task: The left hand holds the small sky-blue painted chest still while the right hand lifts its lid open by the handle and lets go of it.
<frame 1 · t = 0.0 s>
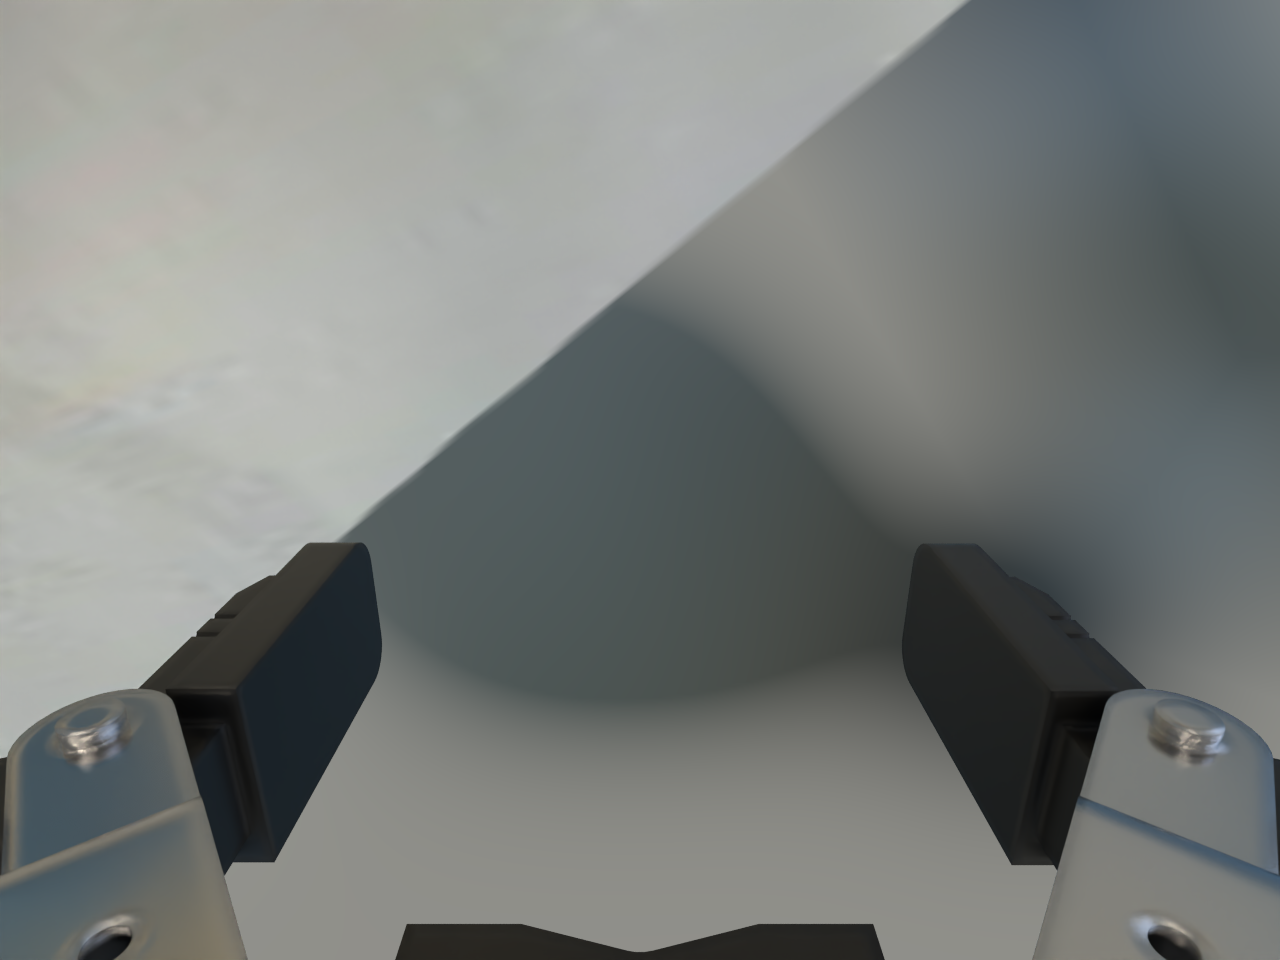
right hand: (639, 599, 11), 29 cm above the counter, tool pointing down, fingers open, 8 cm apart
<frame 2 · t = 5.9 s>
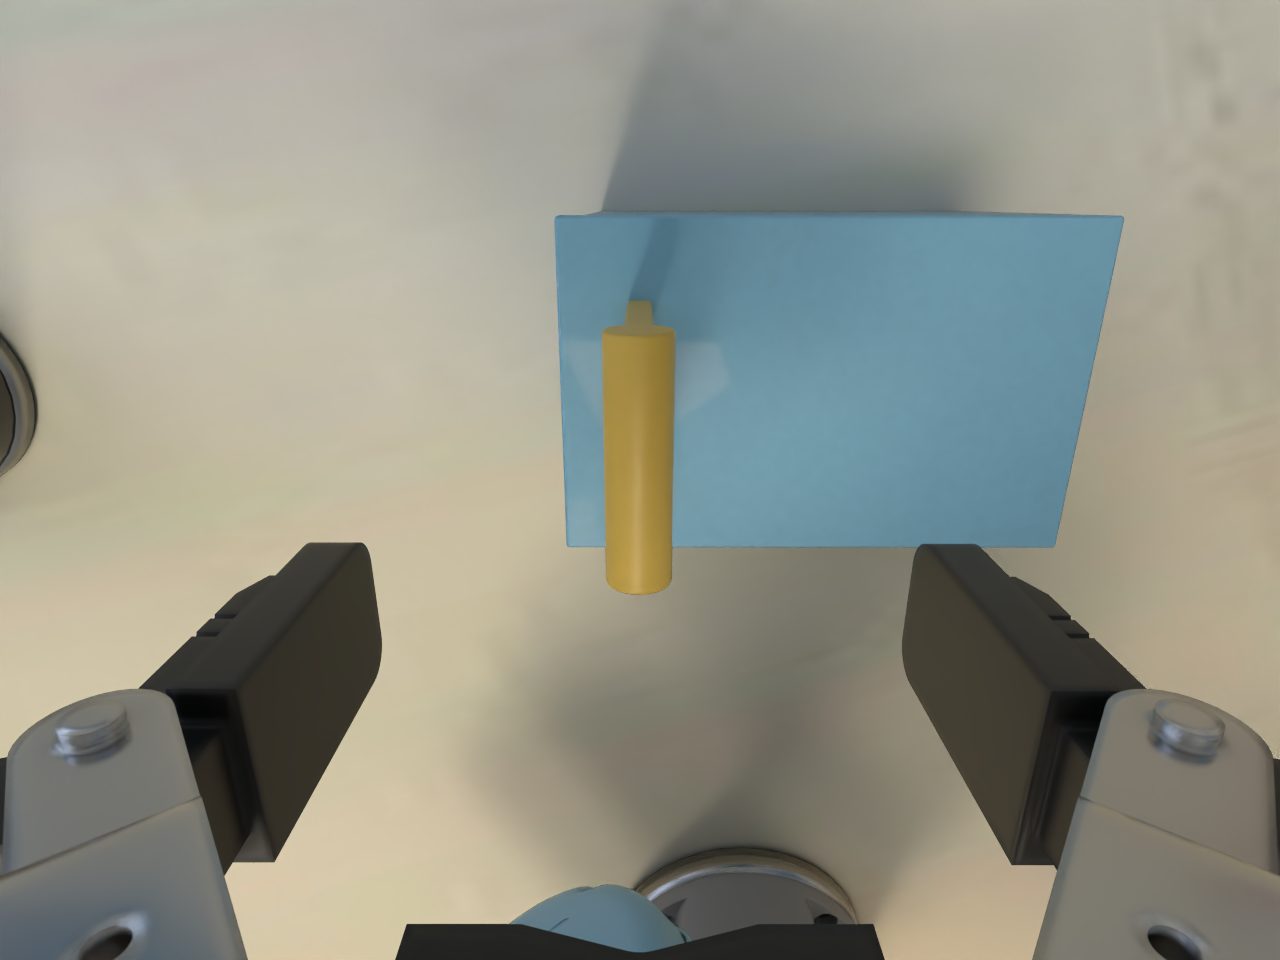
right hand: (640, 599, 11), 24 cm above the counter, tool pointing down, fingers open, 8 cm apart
chest: (772, 332, 34), on the counter
lid: (850, 422, 20), point 15 cm above the counter, hinge at 0.0°
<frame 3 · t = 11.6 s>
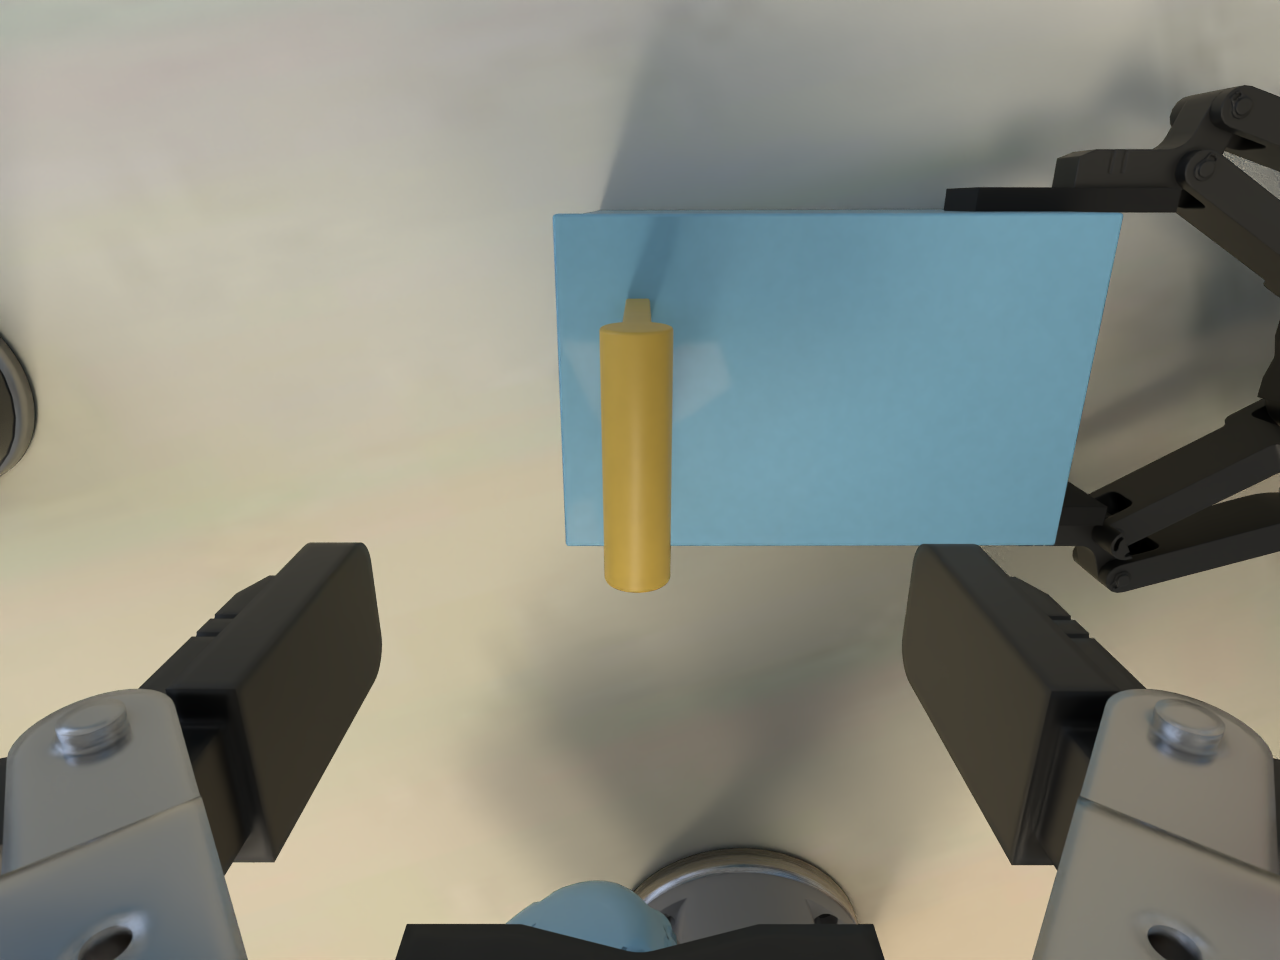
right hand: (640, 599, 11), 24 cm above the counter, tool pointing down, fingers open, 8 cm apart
chest: (771, 331, 34), on the counter, touching left hand
lid: (849, 420, 20), point 15 cm above the counter, hinge at 0.0°
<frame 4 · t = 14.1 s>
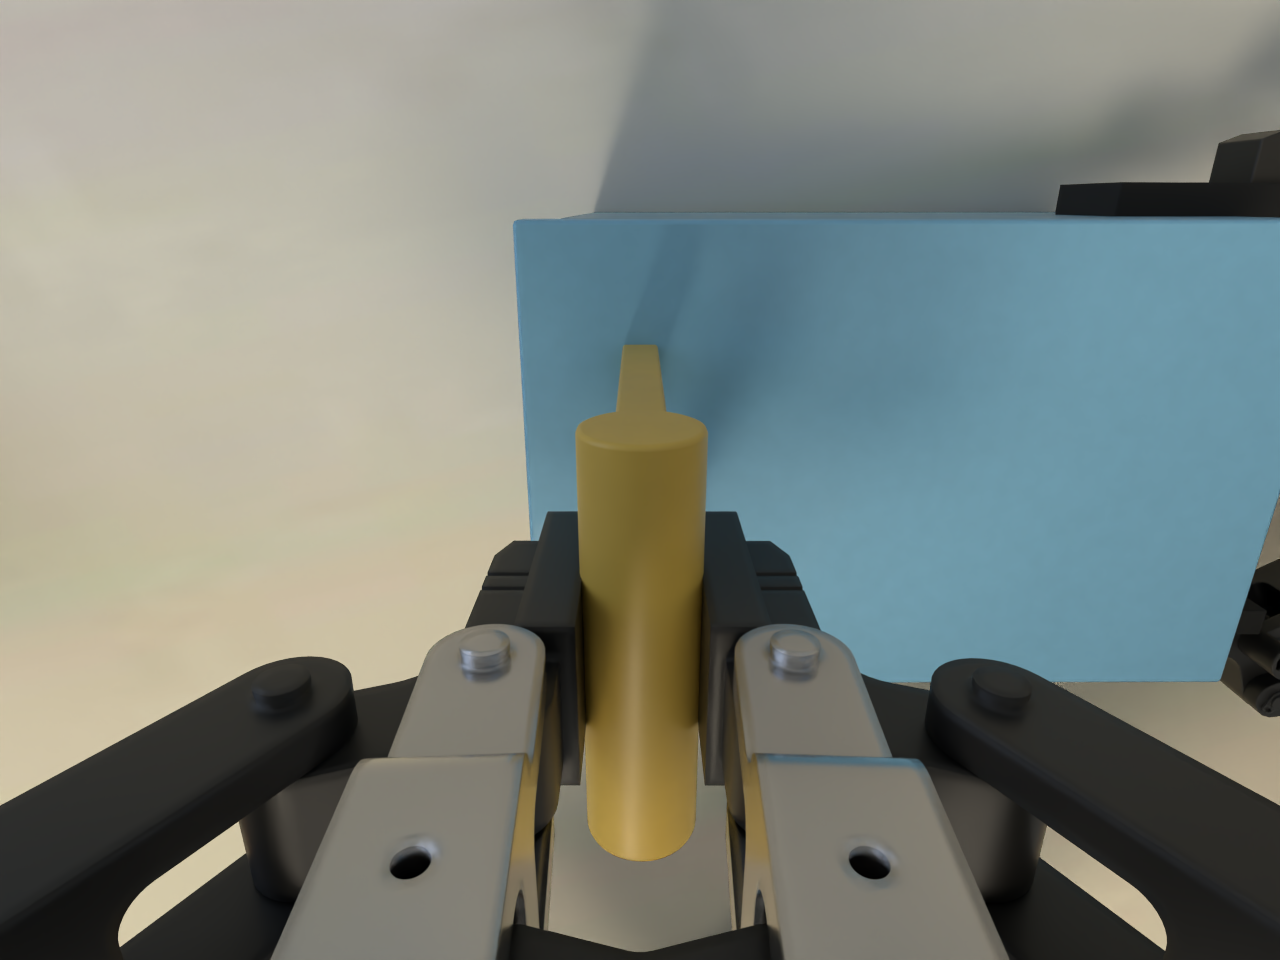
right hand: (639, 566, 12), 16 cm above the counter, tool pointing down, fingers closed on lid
chest: (809, 364, 27), on the counter, touching left hand
lid: (965, 538, 13), point 15 cm above the counter, hinge at 0.8°, touching right hand
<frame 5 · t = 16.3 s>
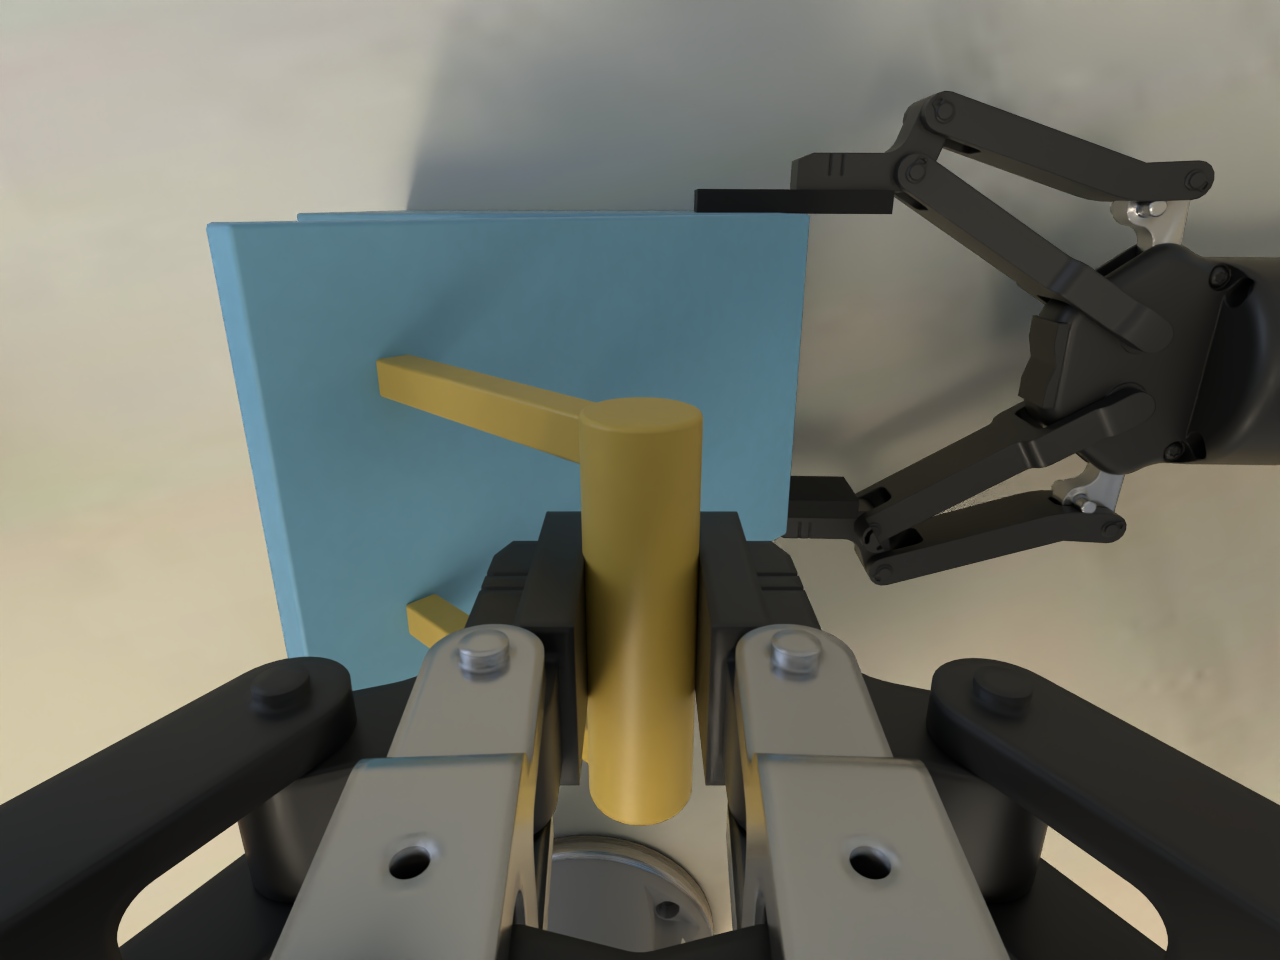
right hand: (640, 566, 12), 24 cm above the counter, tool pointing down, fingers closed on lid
left hand: (691, 358, 28), fingers closed on chest, 10 cm apart
chest: (581, 328, 35), on the counter, touching left hand
lid: (712, 468, 16), point 20 cm above the counter, hinge at 47.4°, touching right hand
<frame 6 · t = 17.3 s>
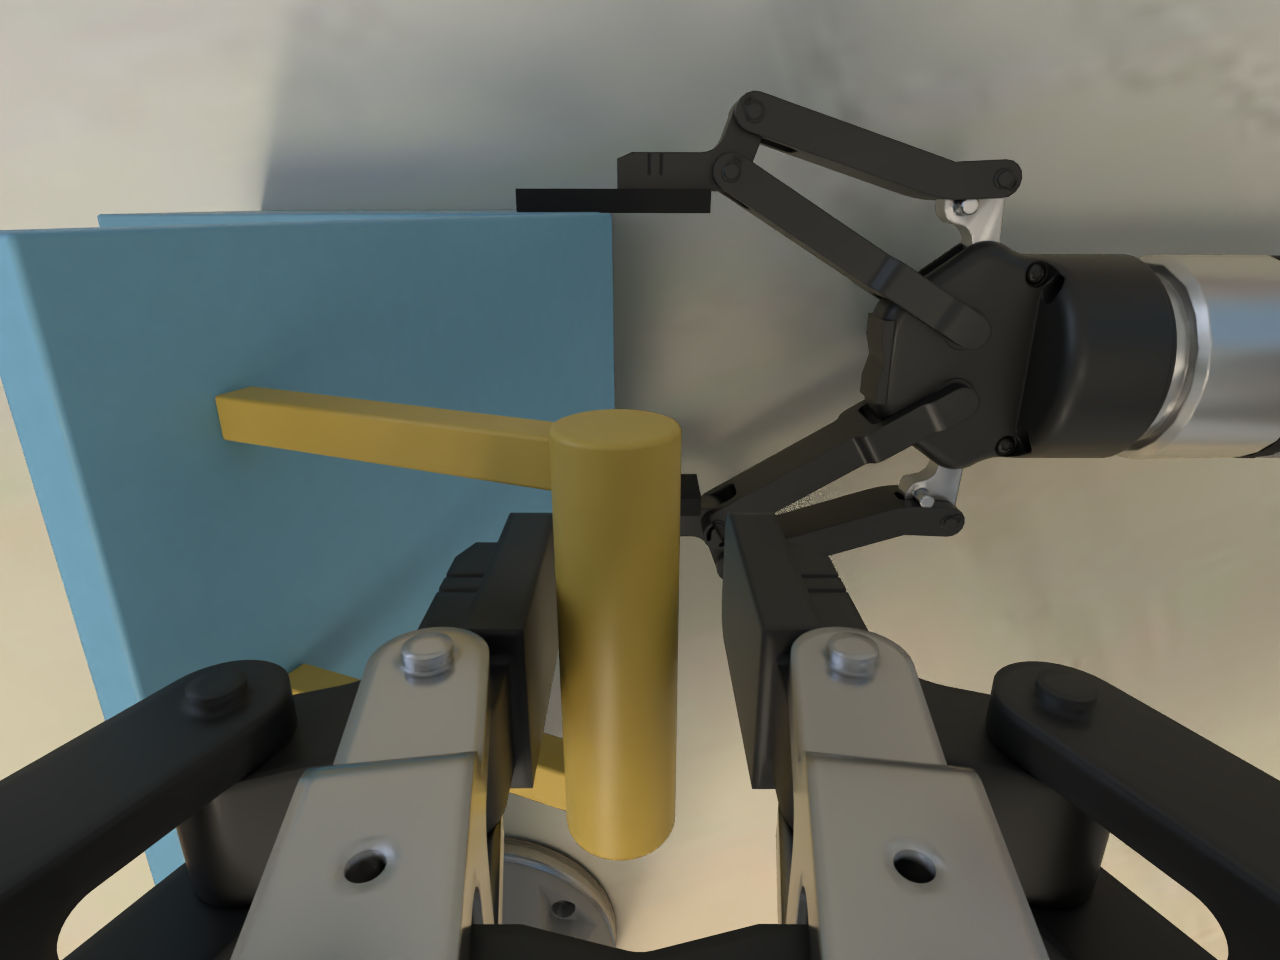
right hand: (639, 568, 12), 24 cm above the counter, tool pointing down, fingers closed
left hand: (529, 357, 28), fingers closed on chest, 10 cm apart
chest: (445, 328, 35), on the counter, touching left hand
lid: (587, 475, 16), point 20 cm above the counter, hinge at 67.1°
when the left hand's fingers open (7 cm above the counter, at t = 21.3 s): chest stays where it is, on the counter.
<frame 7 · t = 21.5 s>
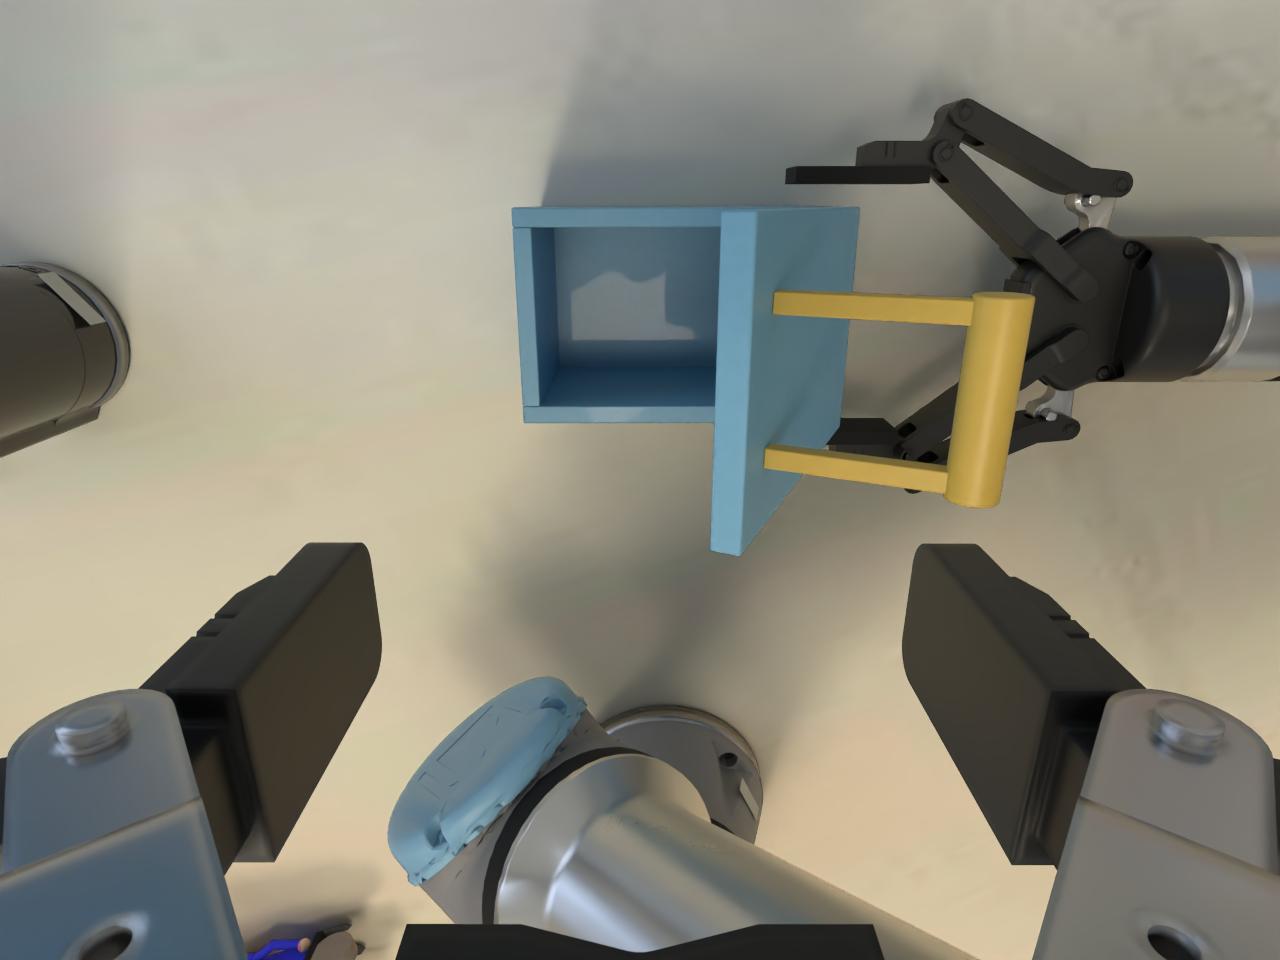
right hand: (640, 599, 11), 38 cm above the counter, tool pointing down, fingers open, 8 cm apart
left hand: (780, 310, 40), fingers open, 13 cm apart
figurine character: (301, 944, 66), on the counter
chest: (668, 295, 46), on the counter
lid: (893, 357, 28), point 20 cm above the counter, hinge at 65.1°
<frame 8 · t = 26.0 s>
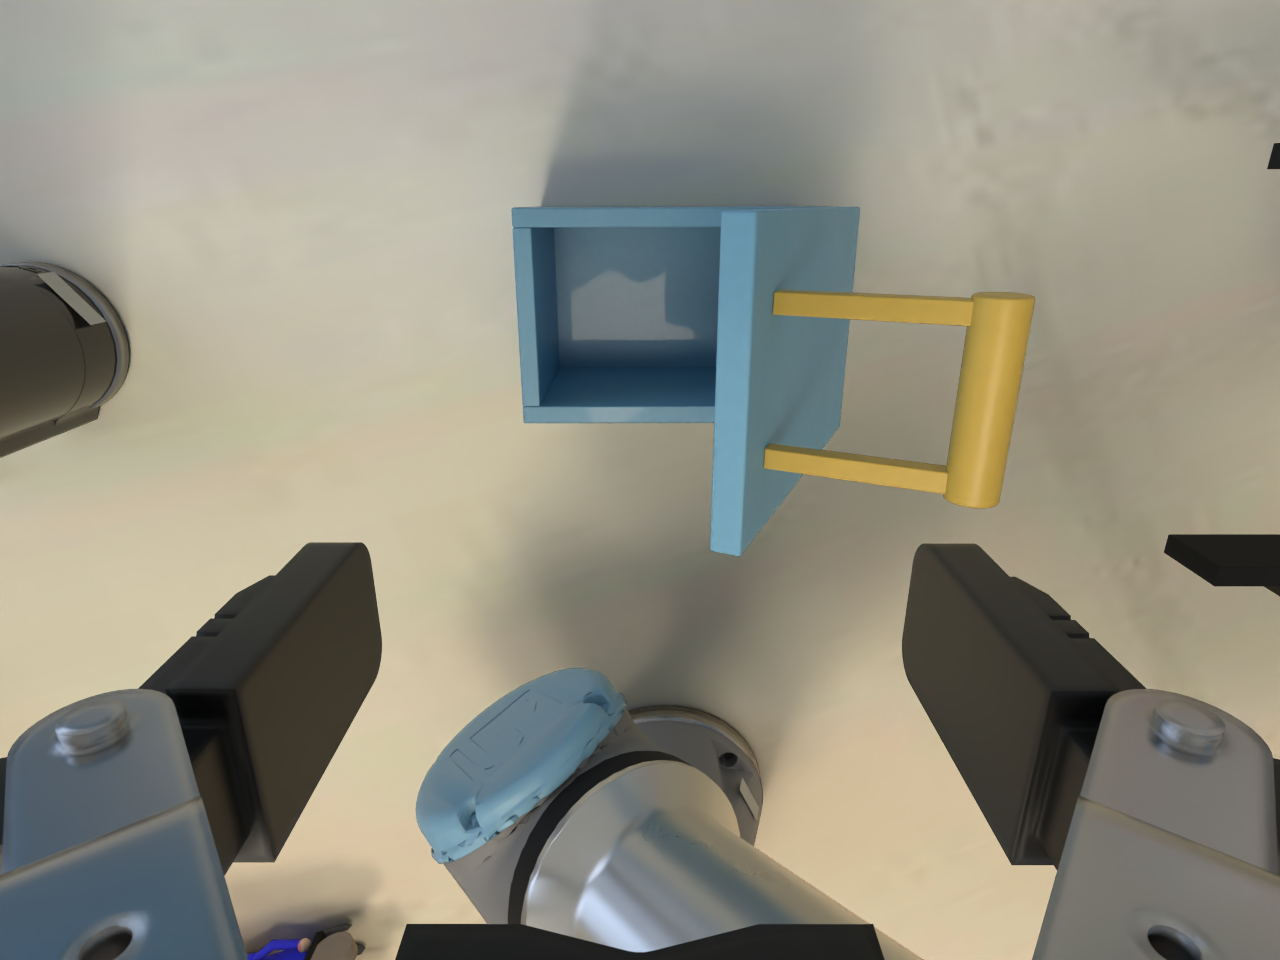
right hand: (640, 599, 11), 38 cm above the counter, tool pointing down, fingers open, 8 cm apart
figurine character: (301, 944, 66), on the counter
chest: (668, 295, 46), on the counter
lid: (893, 357, 28), point 20 cm above the counter, hinge at 65.1°
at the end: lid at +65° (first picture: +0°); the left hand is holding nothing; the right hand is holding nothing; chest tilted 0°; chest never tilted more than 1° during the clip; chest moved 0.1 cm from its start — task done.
